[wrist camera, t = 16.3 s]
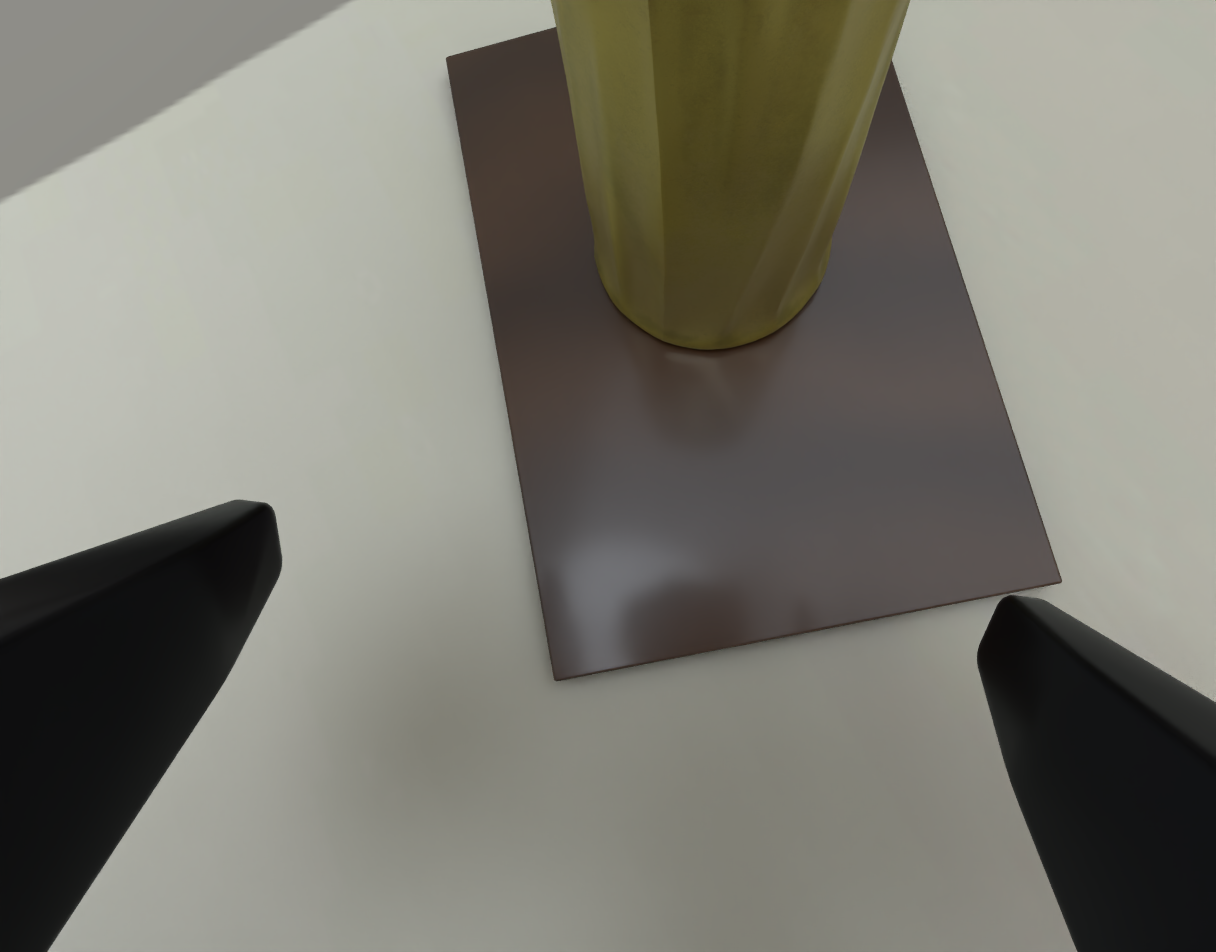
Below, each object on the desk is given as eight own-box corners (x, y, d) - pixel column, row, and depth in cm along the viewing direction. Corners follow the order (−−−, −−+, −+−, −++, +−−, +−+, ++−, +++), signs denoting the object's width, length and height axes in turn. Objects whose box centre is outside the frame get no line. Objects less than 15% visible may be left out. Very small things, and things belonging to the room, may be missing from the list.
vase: (569, 325, 18) (168, -580, 4) (628, 121, 19) (457, -1183, 5) (800, 375, 17) (1270, -588, 3) (852, 157, 18) (1391, -1333, 4)
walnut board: (1050, 583, 16) (1063, 582, 16) (558, 679, 17) (554, 682, 17) (850, -37, 20) (854, -56, 19) (451, 71, 21) (445, 56, 20)
